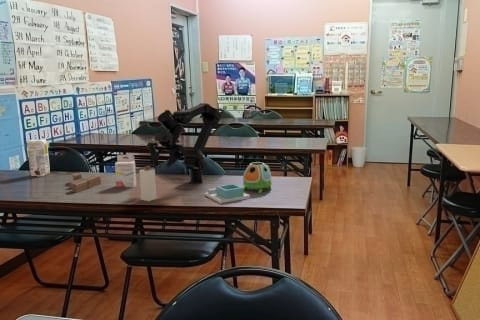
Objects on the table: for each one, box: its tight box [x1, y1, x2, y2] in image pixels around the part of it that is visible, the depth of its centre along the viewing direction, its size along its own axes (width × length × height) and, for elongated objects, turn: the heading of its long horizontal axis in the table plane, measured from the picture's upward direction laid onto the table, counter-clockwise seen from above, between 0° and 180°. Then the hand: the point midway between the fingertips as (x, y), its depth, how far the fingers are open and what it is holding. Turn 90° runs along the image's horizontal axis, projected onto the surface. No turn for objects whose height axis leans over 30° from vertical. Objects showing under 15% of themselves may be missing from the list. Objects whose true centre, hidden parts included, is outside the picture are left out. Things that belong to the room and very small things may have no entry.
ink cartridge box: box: [114, 154, 137, 189], centre depth 203 cm, size 9×5×15 cm, turn 92°
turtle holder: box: [242, 161, 273, 194], centre depth 196 cm, size 12×18×12 cm
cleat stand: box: [204, 183, 251, 204], centre depth 184 cm, size 14×14×5 cm
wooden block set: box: [68, 172, 102, 194], centre depth 205 cm, size 17×6×18 cm
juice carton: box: [26, 138, 51, 177], centre depth 230 cm, size 8×9×19 cm
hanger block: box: [138, 165, 157, 202], centre depth 181 cm, size 4×4×14 cm
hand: (159, 165), depth 187 cm, fingers open, 9 cm apart
